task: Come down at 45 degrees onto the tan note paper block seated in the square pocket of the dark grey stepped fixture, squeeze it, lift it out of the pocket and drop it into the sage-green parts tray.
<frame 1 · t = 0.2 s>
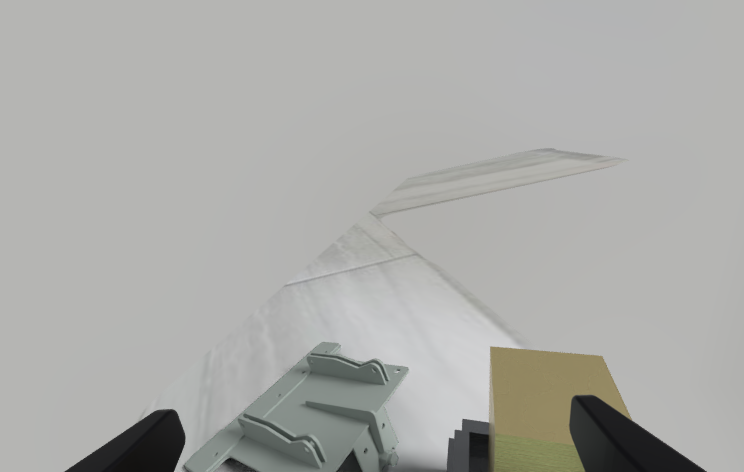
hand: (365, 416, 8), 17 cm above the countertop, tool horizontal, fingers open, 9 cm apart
metal bracket: (318, 429, 28), on the countertop
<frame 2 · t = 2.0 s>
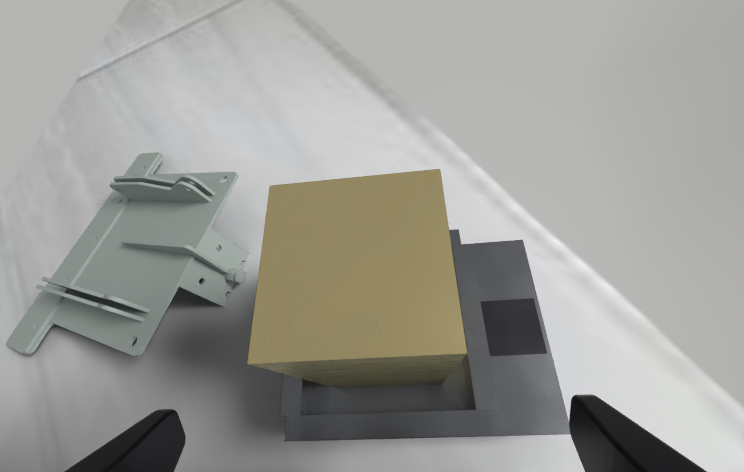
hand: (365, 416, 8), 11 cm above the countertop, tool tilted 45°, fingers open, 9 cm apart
tan note paper block: (386, 333, 16), point 3 cm above the countertop, touching dark grey stepped fixture
dark grey stepped fixture: (391, 344, 19), on the countertop
metal bracket: (160, 261, 24), on the countertop
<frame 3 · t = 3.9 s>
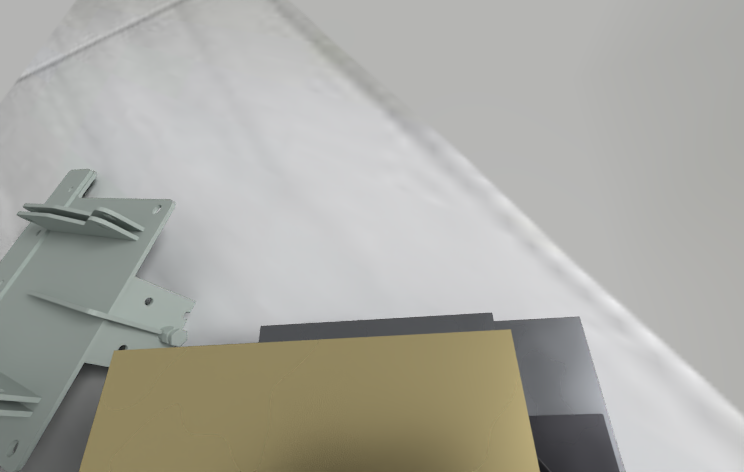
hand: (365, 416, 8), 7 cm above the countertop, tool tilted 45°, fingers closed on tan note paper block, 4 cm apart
tan note paper block: (384, 463, 11), point 3 cm above the countertop, touching gripper, dark grey stepped fixture
dark grey stepped fixture: (391, 452, 14), on the countertop
metal bracket: (87, 308, 19), on the countertop
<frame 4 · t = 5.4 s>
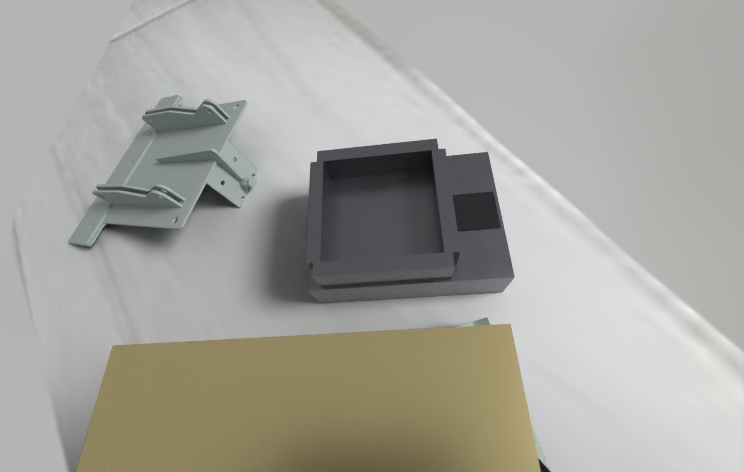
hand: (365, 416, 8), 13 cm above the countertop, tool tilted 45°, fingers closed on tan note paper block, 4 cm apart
tan note paper block: (384, 462, 11), point 9 cm above the countertop, touching gripper
dark grey stepped fixture: (386, 239, 24), on the countertop
metal bracket: (185, 180, 29), on the countertop
when the fingers open (8 cm above the countertop, at t = 6.9 s): tan note paper block drops 4 cm, resting on parts tray.
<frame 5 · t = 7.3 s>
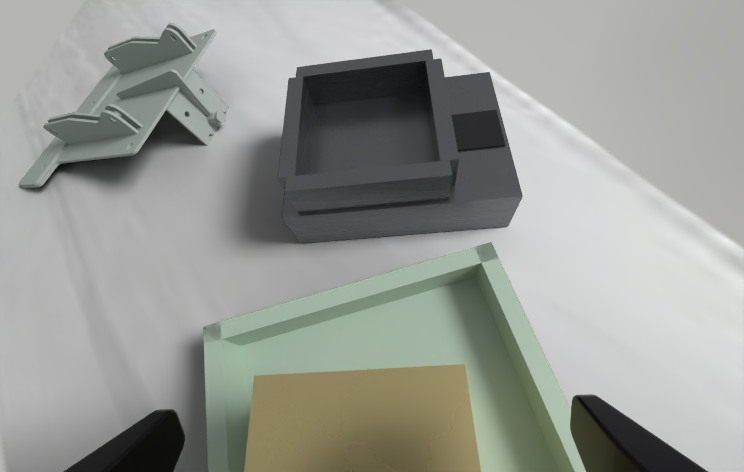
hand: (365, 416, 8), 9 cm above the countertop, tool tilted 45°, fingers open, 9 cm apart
tan note paper block: (392, 448, 14), point 1 cm above the countertop, touching parts tray
dark grey stepped fixture: (376, 175, 21), on the countertop
metal bracket: (151, 123, 27), on the countertop
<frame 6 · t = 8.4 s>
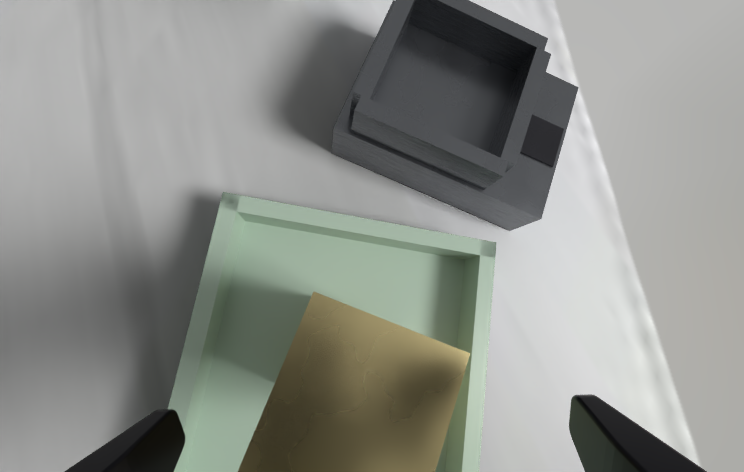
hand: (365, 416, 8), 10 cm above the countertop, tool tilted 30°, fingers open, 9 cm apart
parts tray: (336, 375, 18), on the countertop
tan note paper block: (340, 356, 17), point 1 cm above the countertop, touching parts tray
dark grey stepped fixture: (426, 124, 21), on the countertop
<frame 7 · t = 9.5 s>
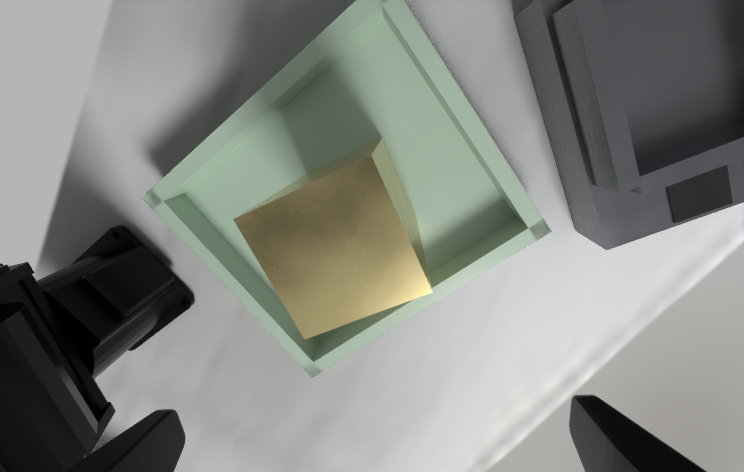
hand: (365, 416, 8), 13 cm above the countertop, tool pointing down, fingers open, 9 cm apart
parts tray: (348, 202, 20), on the countertop
tan note paper block: (361, 194, 19), point 1 cm above the countertop, touching parts tray
dark grey stepped fixture: (627, 71, 17), on the countertop
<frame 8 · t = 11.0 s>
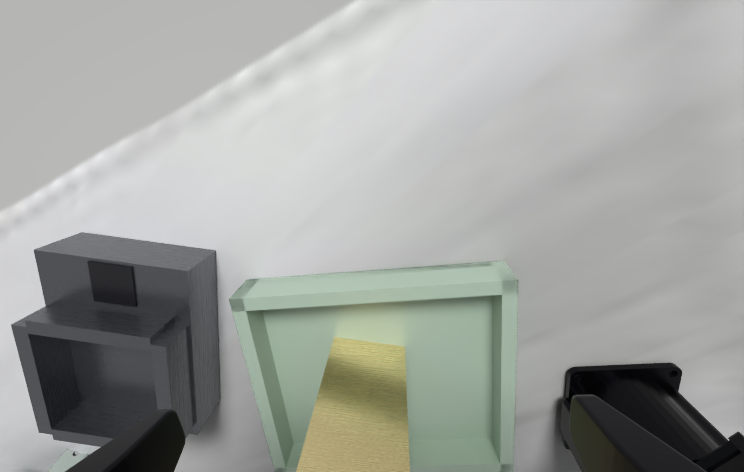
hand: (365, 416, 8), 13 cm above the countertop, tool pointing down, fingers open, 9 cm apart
parts tray: (382, 363, 23), on the countertop
tan note paper block: (365, 370, 23), point 1 cm above the countertop, touching parts tray
dark grey stepped fixture: (157, 337, 24), on the countertop
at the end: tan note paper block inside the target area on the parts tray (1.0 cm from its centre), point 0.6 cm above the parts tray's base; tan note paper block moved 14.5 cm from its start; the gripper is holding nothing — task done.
